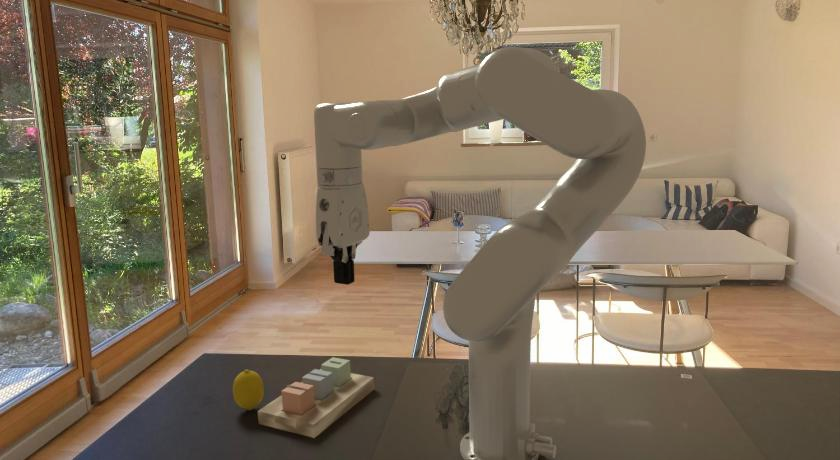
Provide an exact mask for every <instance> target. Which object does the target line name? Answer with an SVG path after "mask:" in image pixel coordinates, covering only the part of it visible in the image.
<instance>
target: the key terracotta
mask: <svg viewBox="0 0 840 460" xmlns="http://www.w3.org/2000/svg"><path fill="white" fill-rule="evenodd" d="M280 393H281V395H282V405H283V411H284V412H288V413H292V414H296V415H300V416H302V415H303V414H305V413H306V412H307V411H309V410H310V409H311V408H313V407H314V406H315V400H314V386H313V385H309V384H304V383H301V382H299V381H294V382H292V384H287V385H286V386H285V388H283V389H282V390H281V392H280Z"/></svg>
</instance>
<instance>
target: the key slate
mask: <svg viewBox="0 0 840 460" xmlns="http://www.w3.org/2000/svg"><path fill="white" fill-rule="evenodd" d="M301 382H302V383H304V384H309V385H313V386H314V399H315V400H320V401H322V400H324V399H325V398H326V397H328V396H329V395H330V394H332V393H333V392H334V388H333V372H328V371H323V370H320V369H317V368H313V369H312V370H311V371H310V372H308V373H307V374H305V375H304V376H301Z"/></svg>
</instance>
